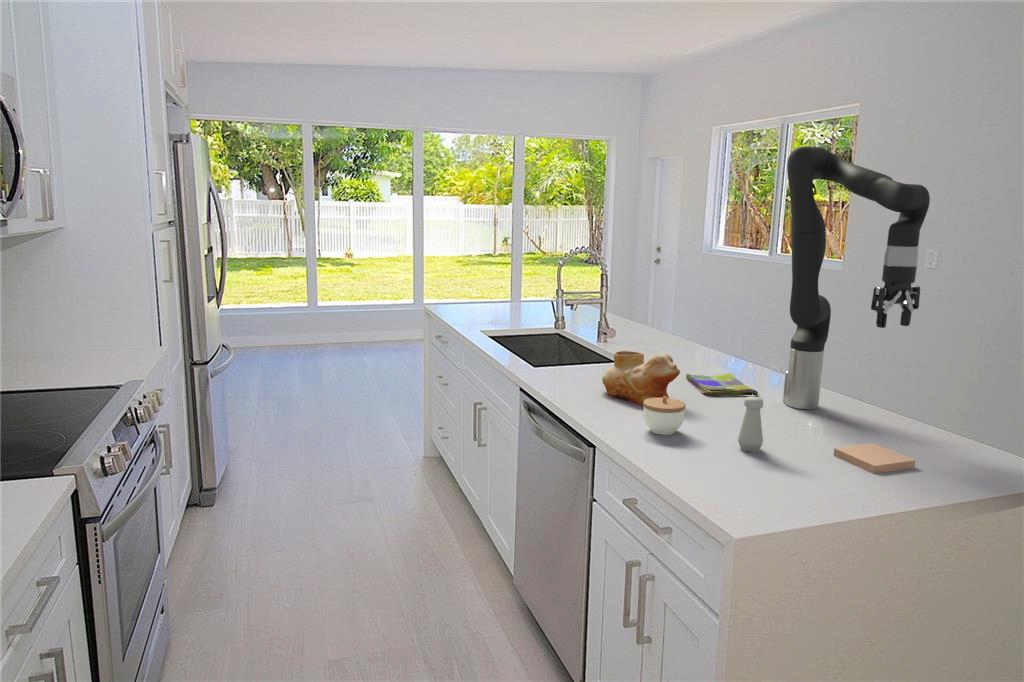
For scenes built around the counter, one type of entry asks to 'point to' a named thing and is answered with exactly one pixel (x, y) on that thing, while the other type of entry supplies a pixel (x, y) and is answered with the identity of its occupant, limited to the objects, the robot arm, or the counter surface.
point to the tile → (874, 458)
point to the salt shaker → (751, 425)
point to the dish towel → (720, 385)
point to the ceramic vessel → (639, 376)
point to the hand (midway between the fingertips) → (892, 326)
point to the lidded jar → (663, 414)
